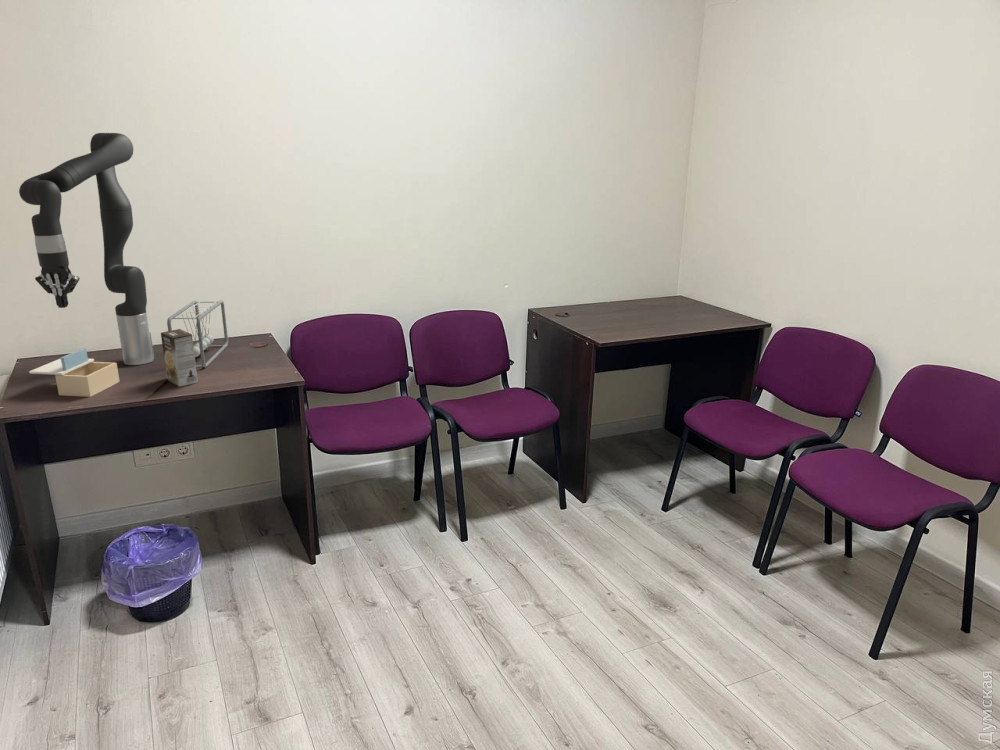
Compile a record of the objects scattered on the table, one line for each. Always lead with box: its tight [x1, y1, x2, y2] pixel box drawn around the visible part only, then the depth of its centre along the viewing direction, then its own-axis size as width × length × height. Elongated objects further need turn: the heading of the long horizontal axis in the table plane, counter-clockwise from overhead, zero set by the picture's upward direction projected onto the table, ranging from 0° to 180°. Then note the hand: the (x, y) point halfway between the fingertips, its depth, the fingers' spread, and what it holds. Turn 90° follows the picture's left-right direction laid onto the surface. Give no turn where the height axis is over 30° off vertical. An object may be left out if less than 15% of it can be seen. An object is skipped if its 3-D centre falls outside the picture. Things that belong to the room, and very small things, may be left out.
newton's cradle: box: [166, 300, 229, 369], centre depth 248 cm, size 30×10×18 cm, turn 6°
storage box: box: [54, 361, 121, 398], centre depth 214 cm, size 14×10×7 cm
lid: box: [28, 347, 95, 376], centre depth 213 cm, size 14×10×5 cm
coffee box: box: [160, 328, 199, 388], centre depth 222 cm, size 9×6×16 cm
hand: (63, 307), depth 213 cm, fingers closed
